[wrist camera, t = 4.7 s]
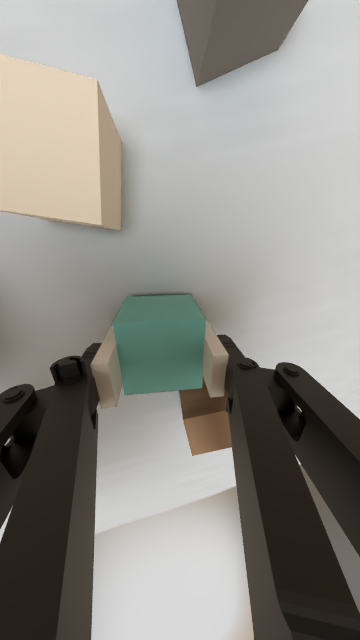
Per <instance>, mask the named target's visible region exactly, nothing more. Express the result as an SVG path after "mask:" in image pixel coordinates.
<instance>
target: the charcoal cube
mask: <svg viewBox="0 0 360 640" xmlns="http://www.w3.org/2000/svg"><path fill="white" fill-rule="evenodd" d="M307 2H308V0H177V3H178V8H179V12H180V16H181V21H182V25H183V29H184V34H185V38H186V43H187V47H188V51H189V56H190V60H191V65H192V69H193V73H194V78H195V82H196V87H197V86H199V85H202V84H204V83H206V82H208V81H210V80H213V79H215V78H217V77H219V76H221V75H224V74H226V73H228V72H230V71H232V70H235V69H237V68H239V67H241V66H243V65H246V64H248V63H250V62H252V61H254V60H257V59H259V58H261V57H263V56H265V55H268V54H270V53H272V52H274V51H276V50H278V49H279V47H280V45H281V44H282V42H283V40H284V39H285V37H286V36H287V34H288V32H289V31H290V29H291V28H292V26H293V24H294V23H295V21H296V19H297V18H298V16H299V15H300V13H301V11H302V10H303V8H304V6H305V5H306V3H307Z"/></svg>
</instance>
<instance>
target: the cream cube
mask: <svg viewBox="0 0 360 640" xmlns="http://www.w3.org/2000/svg"><path fill="white" fill-rule="evenodd" d="M121 180H122V142H121V139H120V137H119V134H118V132H117V129H116V127H115V124H114V121H113V119H112V116H111V114H110V111H109V109H108V106H107V103H106V101H105V98H104V96H103V93H102V91H101V88H100V86H99V83H98V80H97V79H95V78H91V77H87V76H83V75H79V74H75V73H71V72H67V71H64V70H60V69H56V68H52V67H48V66H44V65H40V64H36V63H33V62H29V61H25V60H21V59H17V58H13V57H9V56H5V55H2V54H0V211H4V212H9V213H15V214H20V215H25V216H31V217H36V218H41V219H47V220H53V221H60V222H67V223H74V224H81V225H87V226H94V227H101V228H108V229H115V230H121Z"/></svg>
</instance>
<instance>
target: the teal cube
mask: <svg viewBox="0 0 360 640" xmlns="http://www.w3.org/2000/svg"><path fill="white" fill-rule="evenodd" d="M113 328H114V334H115V340H116V345H117V351H118V356H119V362H120V368H121V374H122V380H123V382H122V383H123V389H124V395H131V394H142V393H154V392H165V391H176V390H188V389H199V388H202V380H203V374H202V372H203V353H204V337H205V329H206V318H205V316H204V314H203V313H202V311H201V310H200V308H199V307H198V305H197V303H196V302H195V300H194V299H193V297H192V296H191V294H190V295H160V296H131V297H127V298H126V299H125V301H124V303H123V305H122V307H121V309H120V310H119V312H118V314H117V316H116V318H115V320H114V321H113Z"/></svg>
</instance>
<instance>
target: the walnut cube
mask: <svg viewBox="0 0 360 640" xmlns="http://www.w3.org/2000/svg"><path fill="white" fill-rule="evenodd" d="M179 391H180V399H181V407H182V414H183V421H184V425H185V429H186V433H187V437H188V441H189V445H190V449H191V453H192V456H194V455H198V454H203V453H207V452H212V451H216V450H221V449H225V448H230V447H232V442H231V434H230V425H229V417H228V413H227V412H226V404H227V396H228V394H227V392H226V390H225V389H224V396H221V397H211V398H210V395H209V392H208V389H207V386H206V383H205V380H204V377H203V380H202V388H199V389H188V390H179Z"/></svg>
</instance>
